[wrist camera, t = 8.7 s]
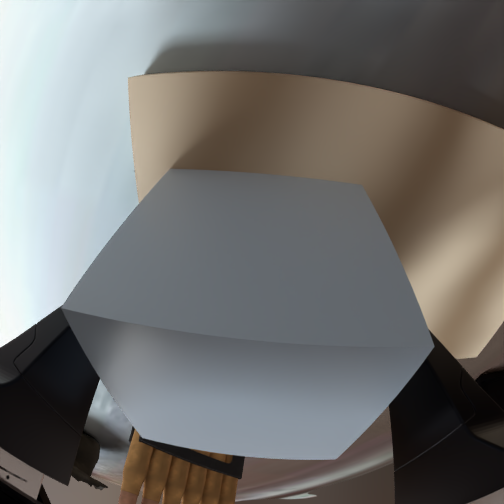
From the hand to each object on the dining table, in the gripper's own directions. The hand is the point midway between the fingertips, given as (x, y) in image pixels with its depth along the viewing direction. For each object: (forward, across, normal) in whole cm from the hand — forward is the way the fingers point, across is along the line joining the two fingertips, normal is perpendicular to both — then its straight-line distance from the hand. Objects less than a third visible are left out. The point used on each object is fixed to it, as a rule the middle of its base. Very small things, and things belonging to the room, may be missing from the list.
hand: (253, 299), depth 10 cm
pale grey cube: (+2, 0, 0) cm, 2 cm away
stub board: (+4, -5, 0) cm, 6 cm away
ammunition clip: (+4, +4, +18) cm, 19 cm away
